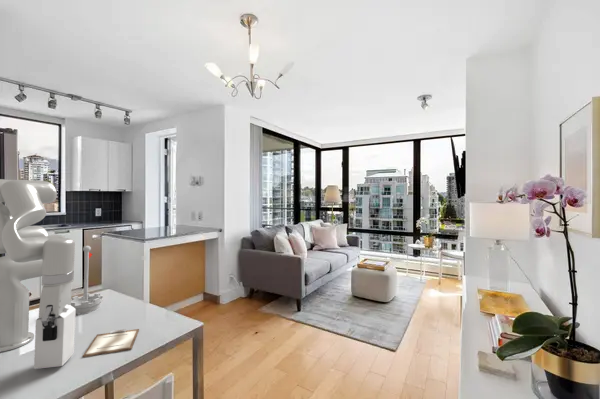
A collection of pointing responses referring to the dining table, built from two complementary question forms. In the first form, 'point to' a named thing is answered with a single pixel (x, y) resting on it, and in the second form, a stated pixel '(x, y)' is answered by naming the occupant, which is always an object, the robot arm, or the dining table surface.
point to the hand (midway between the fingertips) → (56, 333)
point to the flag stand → (86, 292)
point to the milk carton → (56, 341)
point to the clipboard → (112, 342)
